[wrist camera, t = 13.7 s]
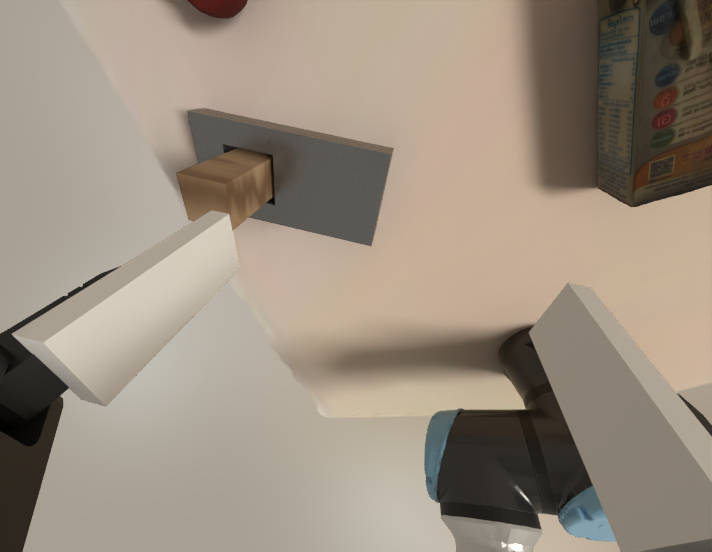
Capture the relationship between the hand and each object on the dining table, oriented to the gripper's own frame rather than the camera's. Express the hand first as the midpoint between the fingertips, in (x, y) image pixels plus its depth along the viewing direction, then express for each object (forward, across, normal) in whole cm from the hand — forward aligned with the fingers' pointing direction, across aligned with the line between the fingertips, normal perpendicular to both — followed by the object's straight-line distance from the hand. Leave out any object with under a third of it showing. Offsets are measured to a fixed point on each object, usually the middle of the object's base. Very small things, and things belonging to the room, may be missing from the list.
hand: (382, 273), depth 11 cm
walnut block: (+26, +19, +6) cm, 32 cm away
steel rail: (+26, +14, +6) cm, 30 cm away
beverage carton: (+26, -20, -9) cm, 34 cm away
